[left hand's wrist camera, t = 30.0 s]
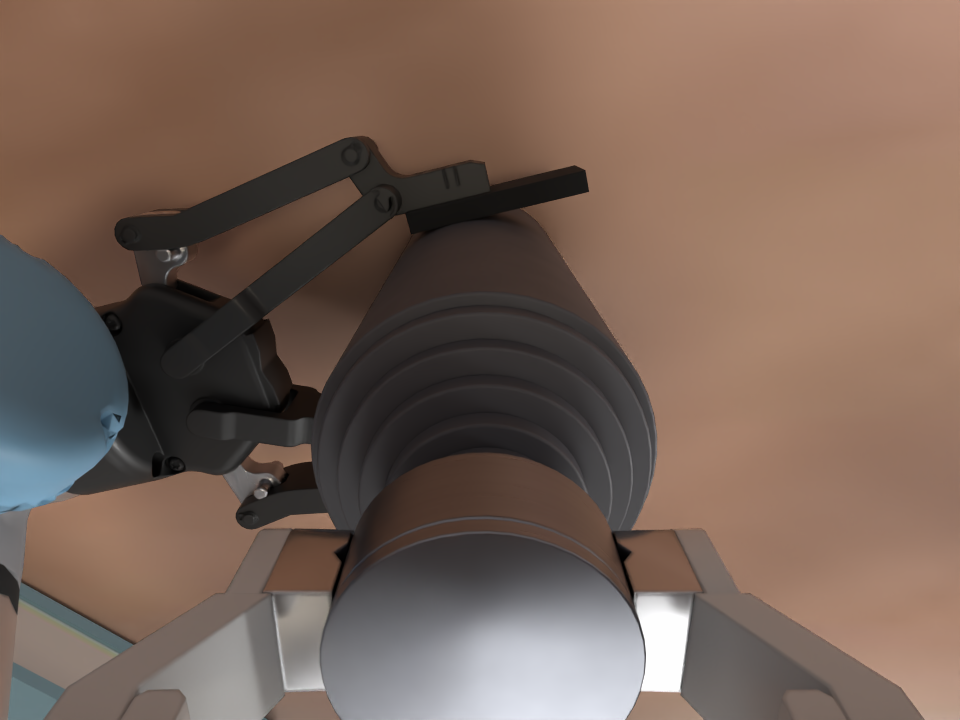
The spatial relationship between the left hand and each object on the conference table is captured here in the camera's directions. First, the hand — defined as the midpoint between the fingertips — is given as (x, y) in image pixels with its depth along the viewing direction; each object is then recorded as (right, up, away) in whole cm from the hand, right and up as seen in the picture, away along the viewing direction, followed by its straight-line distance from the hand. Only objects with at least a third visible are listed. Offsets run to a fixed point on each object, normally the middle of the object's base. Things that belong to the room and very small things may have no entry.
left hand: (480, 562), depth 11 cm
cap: (0, -1, -2) cm, 2 cm away
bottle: (0, +7, +21) cm, 22 cm away
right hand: (+5, +6, +15) cm, 17 cm away
